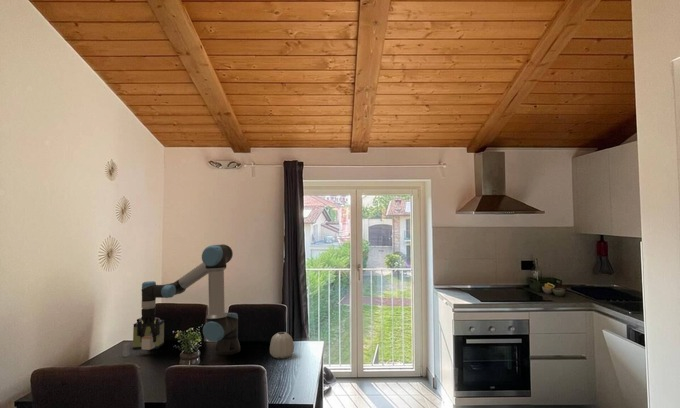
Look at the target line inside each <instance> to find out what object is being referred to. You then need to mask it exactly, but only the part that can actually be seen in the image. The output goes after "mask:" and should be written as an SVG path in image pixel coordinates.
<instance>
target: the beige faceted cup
mask: <svg viewBox="0 0 680 408" xmlns="http://www.w3.org/2000/svg"><path fill="white" fill-rule="evenodd" d="M151 337H152V336H146V337H143V338H142V349H141V351H145V350H147V351H148V350H149V351H150V350H152V349H151Z"/></svg>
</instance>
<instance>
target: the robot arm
mask: <svg viewBox="0 0 680 408" xmlns="http://www.w3.org/2000/svg"><path fill="white" fill-rule="evenodd" d="M233 255H234V252H233V250H232V248H231V247H230V246H229V245H227V244H211V245H209V246H207V247H205V248H204V249H203V250H202V253H201V260H202V261H201V262H202V263H200V264H199V265H197V266H196V267H194V268H193V269H192V270H190V271H188V272H187V273H186V274H184V275H183V276H181V277H180V278H179V279H177V280H176V281H174V282H171V283H166V284H156V281H153V280H152V281H144V282H142V284H141V290H140V291H141V316H140V317H139V318H137V319H136V323H138V324H137V336H140V342H141V343H142V338H143V337H146V336H145V331H146V327H147V324H149V326H150V328H151V332H152V337H151V350H154V349H153V348H155V342H156V336H157V335H159V334H160V320H161V318H160V317H157V316H156V313H157V312H156V309H157V308H156V305H157V304H156V303H157V301H156V299H157V298H158V299H160V298H162V299H163V298H165V299H168V298H170V299H171V298H173V297H174V296H177V295H180V294H183V293H184V292H186V289H188V288H190V287H191V286H192V285H194V284H195V283H196V282H199V280H201V279H203V278H204V277H206V276H207V275H208V281H207V282H208V314H207V315H206V316H205V319H206V320H205V321H206V322H205V324H204V325H203V327H202V334H203V337H204V338H205V339H206V340H207V341H209V342H212V343H215V342H216V343H215V346H214V349H213V350H214V352H213V353H214V354H215V355H217V356H231V355H236V354H238V353H240V352H241V345H240V344H241V343H240V341H239V338H238V337H239V335H238V333H239V330H238V329H239V314H238V313H237V312H226V311H225V309H226V308H225V270H226V269H227V264H228V263H229V262H230V261H231V260H232V258H233ZM154 320H155V323H154ZM142 321H143V326H142ZM154 324H155V325H154Z"/></svg>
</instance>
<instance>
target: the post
mask: <svg viewBox="0 0 680 408" xmlns="http://www.w3.org/2000/svg"><path fill="white" fill-rule="evenodd" d="M130 354H131V343H127V342H126V343H123V345H122V358H128V357H130Z"/></svg>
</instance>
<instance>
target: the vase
mask: <svg viewBox="0 0 680 408" xmlns="http://www.w3.org/2000/svg"><path fill="white" fill-rule="evenodd" d="M269 344H270V345H269V354H270V355H271V356H272V357H273V358H276V359H287V358H290V357H291V356H292V354H293V353H294V352H295V351H294V350H295V347H294V346H295V345H294V340H293V337H292V336H291V335H290V334H289V333H287V332H285V331H280V332H277V333H275V334H274V335H273V336H272V337H271V340H270V342H269Z"/></svg>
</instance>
